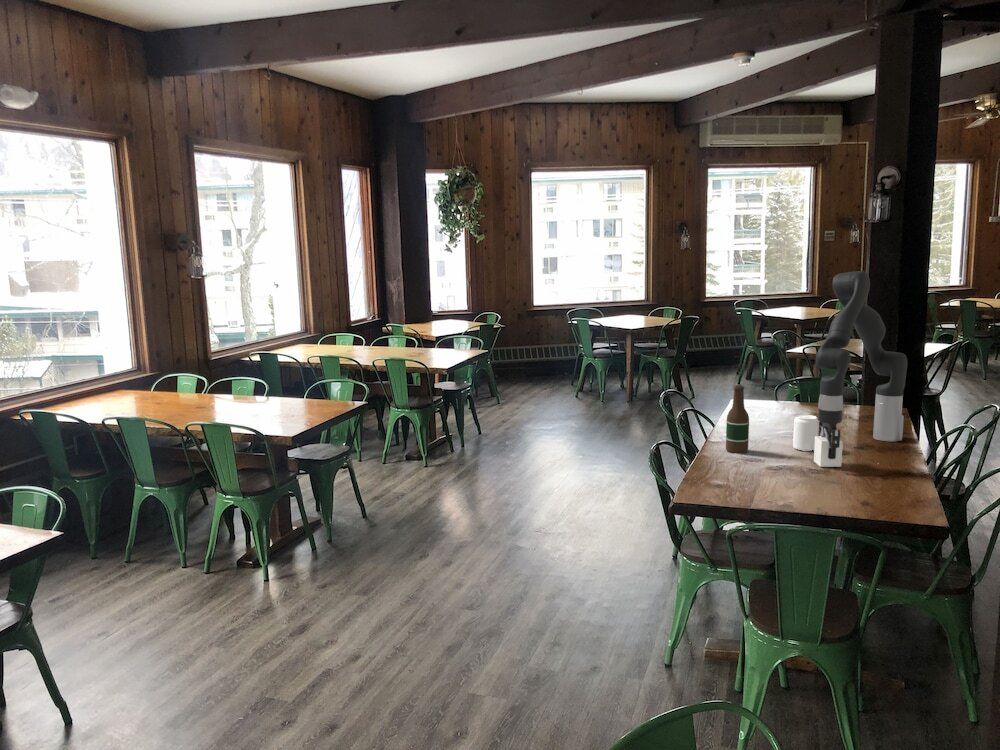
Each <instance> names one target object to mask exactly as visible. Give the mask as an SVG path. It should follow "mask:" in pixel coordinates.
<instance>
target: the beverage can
mask: <svg viewBox="0 0 1000 750" xmlns="http://www.w3.org/2000/svg"><path fill="white" fill-rule="evenodd" d="M818 435H819V421H818V416H815V415H811V414H797V415H796V416H795V418H794V419H793V436H792V438H793V440H792V447H793V449H795V450H797V449H798V450H797V451H799V450H802V451H801V452H813V451H814V446H815V436H818ZM812 450H813V451H812Z"/></svg>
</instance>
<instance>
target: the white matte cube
mask: <svg viewBox="0 0 1000 750" xmlns="http://www.w3.org/2000/svg"><path fill="white" fill-rule="evenodd" d="M843 443H844V441H843V439H840V443H839V448H836V458H835V459H829V458H828V451H829V447H828V445H829V441H826V437H821V436H819V435H817V436H815V446H814V450H813V462H814V463H815V464H816V465H817V466H819V467H820V468H822V467H823V468H831V467H832V468H833V467H837V468H841V467H842V461H843V458H842V457H843ZM833 444H835V441H834V442H833Z"/></svg>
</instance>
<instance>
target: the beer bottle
mask: <svg viewBox="0 0 1000 750" xmlns="http://www.w3.org/2000/svg"><path fill="white" fill-rule="evenodd" d="M732 389H733V390H734V391H733V399H732V400H733V401H732V405H731V408H730V410H729V412H728V413H727V416H726V424H725V425H726V427H725V428H726V432H725V450H727V451H726V452H728V453H729V452H730V453H729V454H735V453H744V454H746V453H748V451H749V441H750V440H749V439H750V438H749V434H750V432H749V431H750V416H749V414H748V411H747V410H746V407H745V398H744V397H745V394H744V393H745V391H744V390H745V386H743V385H734V386H733V388H732Z"/></svg>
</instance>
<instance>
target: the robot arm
mask: <svg viewBox="0 0 1000 750" xmlns="http://www.w3.org/2000/svg"><path fill="white" fill-rule="evenodd" d="M870 288H871V280H870V276H869V275H868V273H867V271H863V270H858V271H856V270H855V271H848V272H841V273H838V274H836V275H835V276H834V277H833V279H832V290H833V292H834V295H835V296H836V299H837V300H838V301H839V303H840V304H841V306H842V309H841V310H840V311H838V313H837V314H836V315H835V316H834V318H833V319H832V321H831V323H830V325H829V330H828V334H827V337H825V339H824V342H823V343H822V344H821V345H820V347H819V349H818V350H817V352H816V354H815V364H816V366H817V367H818V368H819V369H822V370H836V373H835V374H833V375H825V376H823V377H821V379H820V386H819V398H818V408H817V409H818V411H817V420H818V436H821V437H826V441H829V445H828V447H829V451H828V458H829V459H835V458H836V448H839V443H840V440H841V430H840V429H838V426H837V424H840V423H842V422H843V411H844V410H843V409H844V398H843V397H844V396H843V394H844V381H845V377H846V374H847V371H848V368H849V367H850V364H851V358H852V357H851V354H850V351H849V350H848V349H845V348H847V347H848V345H849V344H850V341H851V336H852V334H853V329H854V328H855V331H856V333H857V335H858V337H859V338H860V340H861V341H862V343H863V346H864V348H865V351H866V353H867V355H868V359H869V362H870V365H871V368H872V369H873V371H874V373H876V374H877V375H879V376H884V377H890V379H889V382H887V383H882V384H879V385H877V386H876V388H875V399H874V400H875V401H874V404H875V405H874V417H873V432H872V434H873V435H872V438H873V439H874V440H876V441H877V440H878V441H882V442H899V441H903V434H904V432H903V431H904V421H905V419H904V417H905V416H904V415H903V401H904V400H903V397H904V390H905V387H906V378H907V373H908V372H907V370H908V358H907V356H906V353H905V354H904V353H902V352H897V351H888V350H887V351H886V350H885V349H884V348H883V347H882V341H883V339H884V338H885V335H886V329H887V328H886V326H885V323H884V322H883V318H882V317H881V315H880V313H878V312H877V311H876V310H875V309H873V307H870V306H868V305H867V304H865V302H866V299H867V297H868V296H869V292H870ZM834 441H835V444H833V442H834Z"/></svg>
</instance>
